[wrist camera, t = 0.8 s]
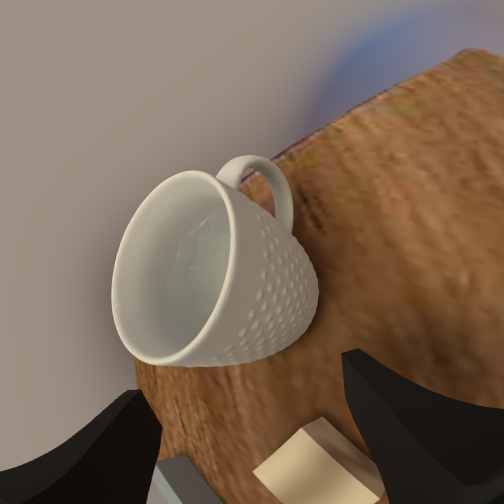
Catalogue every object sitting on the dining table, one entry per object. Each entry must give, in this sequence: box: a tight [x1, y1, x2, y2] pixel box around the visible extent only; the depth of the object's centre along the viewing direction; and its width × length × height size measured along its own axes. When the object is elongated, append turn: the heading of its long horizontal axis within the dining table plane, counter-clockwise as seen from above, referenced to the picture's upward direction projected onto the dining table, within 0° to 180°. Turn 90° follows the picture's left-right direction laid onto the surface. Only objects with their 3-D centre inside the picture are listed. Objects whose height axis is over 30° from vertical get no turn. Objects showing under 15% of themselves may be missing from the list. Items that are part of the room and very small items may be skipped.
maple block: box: [253, 416, 385, 504], centre depth 16 cm, size 8×6×4 cm
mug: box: [111, 155, 319, 367], centre depth 20 cm, size 15×11×13 cm
